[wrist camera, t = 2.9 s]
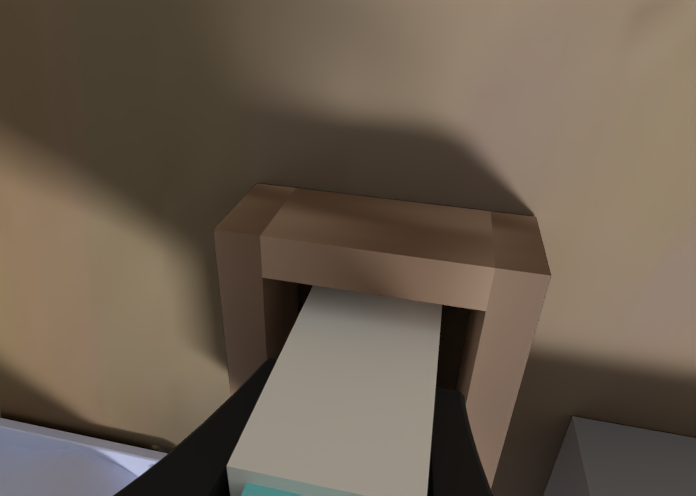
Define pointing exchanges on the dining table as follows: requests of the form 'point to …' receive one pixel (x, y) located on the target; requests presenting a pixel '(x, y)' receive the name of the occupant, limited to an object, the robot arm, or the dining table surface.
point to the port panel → (622, 462)
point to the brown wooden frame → (387, 282)
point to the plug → (345, 402)
